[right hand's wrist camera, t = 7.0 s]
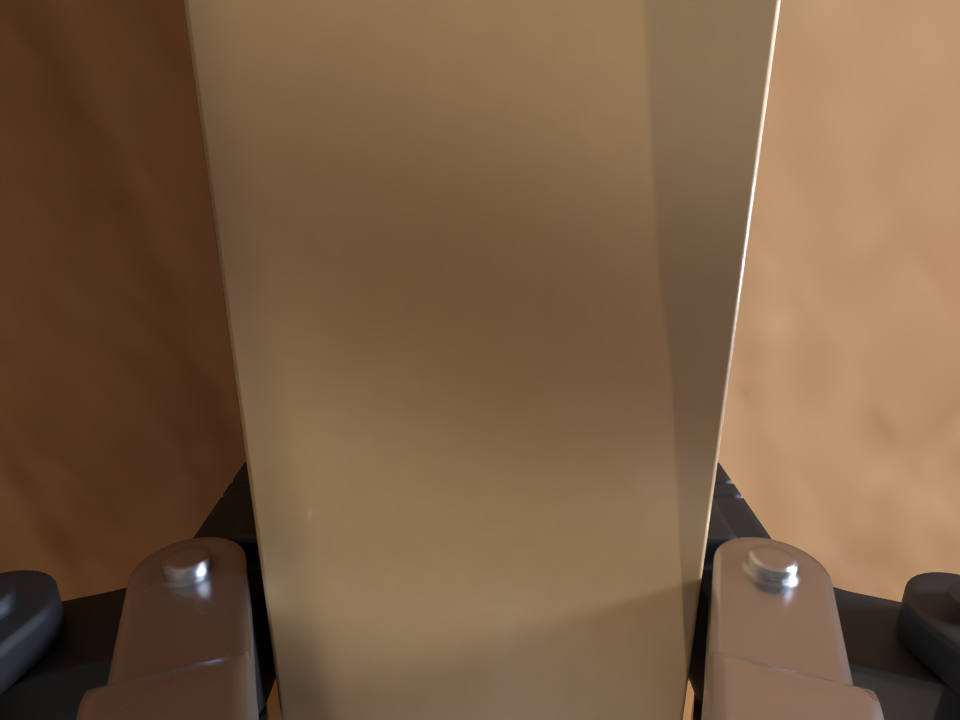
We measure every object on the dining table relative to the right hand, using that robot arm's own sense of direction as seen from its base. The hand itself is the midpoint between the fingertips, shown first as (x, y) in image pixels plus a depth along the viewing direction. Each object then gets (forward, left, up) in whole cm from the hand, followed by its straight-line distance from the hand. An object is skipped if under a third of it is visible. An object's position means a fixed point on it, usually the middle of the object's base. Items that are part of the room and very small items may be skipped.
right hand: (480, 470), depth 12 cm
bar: (+23, -17, -2) cm, 29 cm away
